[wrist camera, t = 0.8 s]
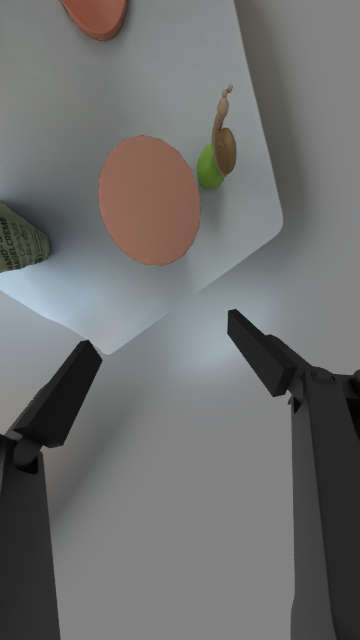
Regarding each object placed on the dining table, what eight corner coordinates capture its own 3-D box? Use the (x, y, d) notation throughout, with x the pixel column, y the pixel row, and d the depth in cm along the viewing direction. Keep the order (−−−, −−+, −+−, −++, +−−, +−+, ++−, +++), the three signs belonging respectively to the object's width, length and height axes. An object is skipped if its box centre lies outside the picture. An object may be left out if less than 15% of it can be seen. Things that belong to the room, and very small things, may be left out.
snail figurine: (212, 138, 24) (251, 62, 14) (225, 181, 27) (264, 145, 17) (186, 160, 25) (205, 104, 15) (201, 199, 28) (225, 175, 18)
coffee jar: (178, 193, 27) (202, 132, 12) (181, 252, 33) (201, 262, 17) (124, 196, 26) (76, 135, 11) (137, 256, 32) (116, 270, 17)
